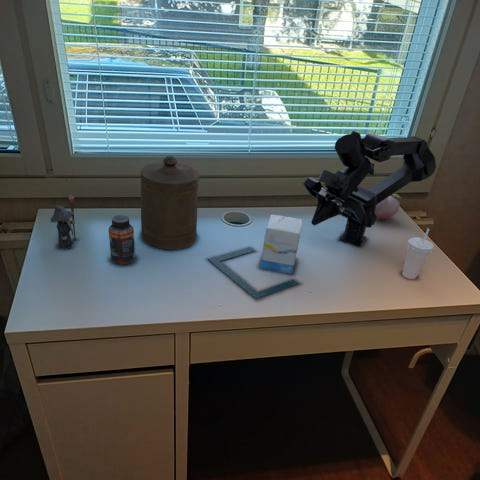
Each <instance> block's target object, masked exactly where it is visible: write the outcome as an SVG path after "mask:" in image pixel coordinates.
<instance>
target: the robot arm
mask: <svg viewBox="0 0 480 480" xmlns="http://www.w3.org/2000/svg"><path fill="white" fill-rule="evenodd" d="M334 150H335V152H336V154H337V156H338V158H339V160H340V161H341V163H342V165H343V166H344V168H343V169H342V171H340V170H337V171H336V172H335V173H333V172H331V171H329V170H327V169H325V168H323V169H322V171H321V173H320V175H319V177H318V178H317V179H316V178H314V177H312V176H310V177H307V178H306V179H305V180H304V182H303V183H302V185H303V186H304V187H305V190H306V191H307V193H308V194H309V195H311V197H313V198H315V199H317V205H316V208H315V210H314V214H313V217H312V219H311V221H310V223H311V225H312V226H317V225H319V224H321V223H323V222H325V221H327V220H330V219H332V218H334V217H336V216H337V217H338V216H341V217H344V218H346V219H347V220H346V224H345V228H344V232H343V233H342V234H341V235H340V237H339V238H338V239H339V241H341V242H344V243H347V244H351V245H354V246H357V247H361V246H363V245H362V244H364V242H365V241H366V239H367V236H366V235H365V233H366V229H367V228H372V226H374V225H375V224H376V222H377V219H378V218H377V216H376V215H375V213H374V212H375V209H376V206H377V204H379V203H380V202H382V201H383V200H385V199H386V198H387V197H389V196H390V195H392V194H393V193H395V194H396V192H398V191H399V190H401V189H402V188H404V187H406V186H407V185H408V184H410V183H412V182H422V181H424V180H426V179H428V178H430V177H431V176H432V175H433V174H435V171H436V169H437V163H436V156H435V155H434V153H433V152H432V151H431V149H430V148H429V144H428V142H427V141H426V139H423V138H420V137H418V136H415V135H413V136H404V137H403V136H401V137H385V136H383V135H379V134H376V133H372V132H368V133H366V134H365V135H364V136H363V137H362V135H361V133H360V132H358V131H356V130H352V131H351V133H347V134H345V135H342V136H341V137H338V138H337V140H336V142H335V144H334ZM394 156H402V159H403V161H402V166H401V167H400V168H399V169H397V170H396V171H394V172H392V173H391V174H390V175H388V176H387V177H385V178H383V179H382V180H380V181H379V182H378V183H376V184H374V185H373V186H371V187H370V188H368V189H367V188H365V187H363V186H360V184H361V183H362V182H363V180H364V179H366V177H367V176H368V175H371V176H374V174H375V164H374V163H372V162H371V160H373V161H374V162H377V163H382V162H386V161H388V160H390V159H391V157H394ZM321 182H322V183H324V184H322V183H321Z"/></svg>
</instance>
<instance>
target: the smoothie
mask: <svg viewBox="0 0 480 480" xmlns="http://www.w3.org/2000/svg"><path fill="white" fill-rule="evenodd" d="M429 232H430V227H429V228H428V227H427V228H426V231H425V233H424V237H423V238H422V237H410V238H409V239H408V241H407V243H406V244H407V248H406V253H405V257H404V258H405V259H404V263H403V268H402V273H401V275H402V276H403V277H404V278H406V279H409V280H415V279H417V277H418V275H419V273H420V271H421V270H422V268H423V266H424V264H425V262H426V260H427V259H428V257H429V255H430V253H432V252H433V250H434V244H433V243H432V242H431V241H430V240H428V239H427V237H428V235H429Z"/></svg>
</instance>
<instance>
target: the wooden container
mask: <svg viewBox="0 0 480 480" xmlns="http://www.w3.org/2000/svg"><path fill="white" fill-rule="evenodd" d="M199 174H200V173H199V172H198V170H197V169H195V168H194V167H192V166H190V165H187V164H185V163H181V162H180V163H179V162H178V160H177V158H176V157H174V156H173V155H167V156H165V157H163V160H162V161H160V162H152V163H149V164H146V165H145V166H143V167H142V168H141V170H140V224H141V225H140V226H141V229H140V230H141V238H142V240H143V242H145V243H146V244H147V245H149V246H152V247H154V248H156V249H157V248H158V249H163V250H180V249H184V248H188V247H190V246H191V245H193V244H194V243H195V242H196V239H197V225H198V191H199V190H198V188H199V178H200V177H199Z"/></svg>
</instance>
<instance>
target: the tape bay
mask: <svg viewBox="0 0 480 480" xmlns="http://www.w3.org/2000/svg"><path fill="white" fill-rule="evenodd" d="M254 252H255V251H254V250H253V249H252V248H250V247H247V248H243V249H240V250H236V251H232V252H230V253H226V254H222V255H219V256H216V257H212V258H209V259H207V260H208V261H209V262H210V263H211V264H212V265H214V267H216V268H217V269H218V270H219V271H221V272H222V273H223V274H224V275H225V276H227V277H228V278H229V279H231V280H232V281H233V282H234V283H235V284H236V285H238V286H239V287H240V288H241V289H242V290H244V291H245V292H246V293H247V294H248V295H250V296H251V298H253V299H255V300H259V299H261V298H264V297H267V296H271V295H273V294H275V293H278V292H280V291H283V290H286V289H289V288H292V287H294V286H297V285H299V283H298V282H297V281H296V280H295V279H291V280H288V281H286V282H285V281H284V282H282V283H279V284H277V285H274V286H270V287H268V288H265V289H263V290H260V291H257V290H255V289H254V288H253V287H252V286H251V285H249V284H248V283H247V282H245V281H244V280H243V279H242V278H241V277H239V276H238V275H237V274H236V273H235V272H233V271H232V270H231V269H230V268H228V267H227V266H226V265H225V264H223V263H222V262H223V261H226V260H229V259H230V260H231V259H235V258H237V257H240V256H244V255H246V254H250V253H254Z"/></svg>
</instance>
